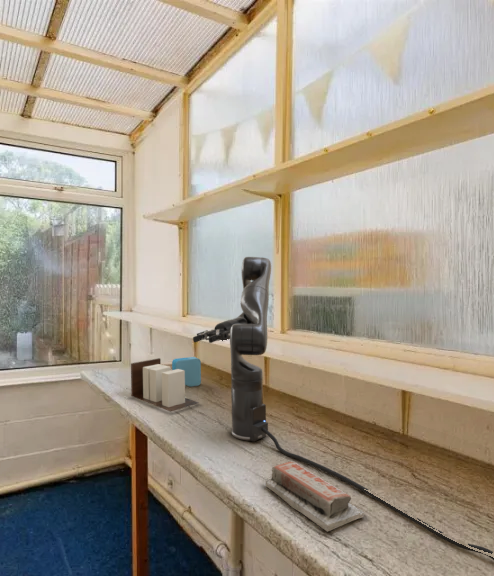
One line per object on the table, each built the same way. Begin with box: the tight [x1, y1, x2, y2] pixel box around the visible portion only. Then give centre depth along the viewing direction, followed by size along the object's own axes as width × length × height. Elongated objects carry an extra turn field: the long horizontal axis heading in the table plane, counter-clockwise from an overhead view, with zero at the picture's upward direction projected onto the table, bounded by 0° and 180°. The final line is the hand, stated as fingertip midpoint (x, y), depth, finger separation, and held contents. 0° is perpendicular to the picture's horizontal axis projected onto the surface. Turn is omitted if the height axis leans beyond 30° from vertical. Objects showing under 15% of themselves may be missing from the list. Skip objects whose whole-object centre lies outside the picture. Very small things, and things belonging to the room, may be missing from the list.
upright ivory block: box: [162, 369, 186, 407], centre depth 141 cm, size 4×8×12 cm, turn 130°
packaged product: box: [265, 461, 365, 533], centre depth 80 cm, size 18×5×10 cm
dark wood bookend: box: [130, 357, 200, 412], centre depth 147 cm, size 25×14×14 cm, turn 40°
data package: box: [171, 356, 202, 388], centre depth 169 cm, size 12×4×12 cm, turn 113°
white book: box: [143, 363, 165, 400], centre depth 150 cm, size 4×8×12 cm, turn 130°
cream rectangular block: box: [149, 364, 172, 402], centre depth 147 cm, size 4×8×12 cm, turn 136°
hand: (201, 340), depth 149 cm, fingers open, 8 cm apart
